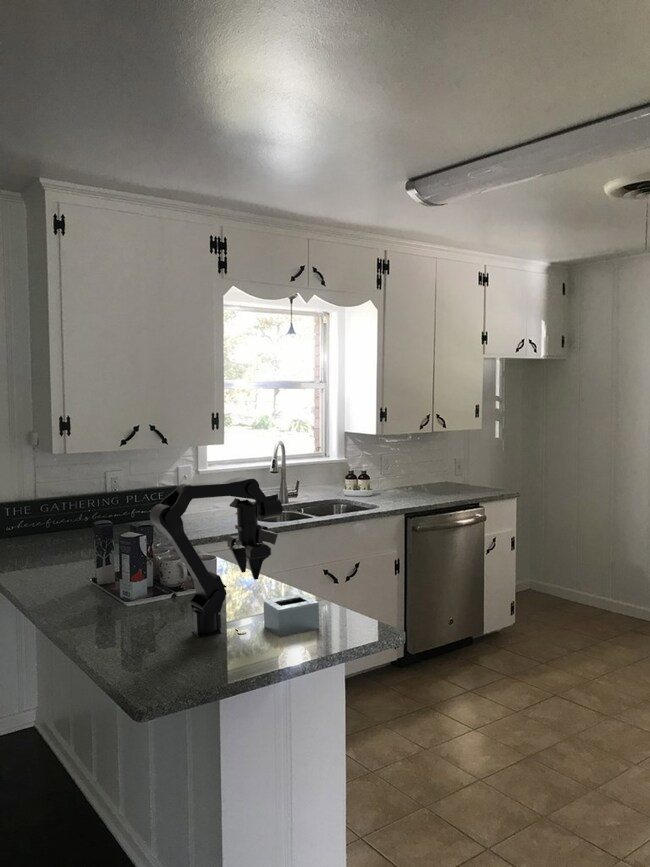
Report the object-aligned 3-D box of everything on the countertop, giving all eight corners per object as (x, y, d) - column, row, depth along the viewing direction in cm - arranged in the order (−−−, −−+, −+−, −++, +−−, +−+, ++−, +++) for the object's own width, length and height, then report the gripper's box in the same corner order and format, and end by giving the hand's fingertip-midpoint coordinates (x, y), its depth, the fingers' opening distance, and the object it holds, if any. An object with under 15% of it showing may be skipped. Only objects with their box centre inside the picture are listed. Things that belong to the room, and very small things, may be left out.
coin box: (279, 637, 195) (278, 610, 195) (264, 626, 204) (263, 600, 203) (319, 628, 201) (318, 602, 200) (303, 618, 210) (302, 593, 209)
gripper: (287, 523, 203) (289, 578, 204) (260, 513, 220) (262, 564, 221) (250, 528, 198) (252, 585, 199) (225, 517, 214) (227, 570, 215)
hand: (249, 575), depth 209 cm, fingers open, 9 cm apart
